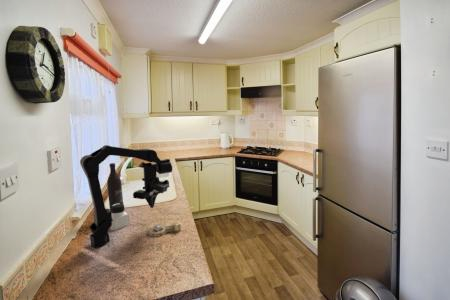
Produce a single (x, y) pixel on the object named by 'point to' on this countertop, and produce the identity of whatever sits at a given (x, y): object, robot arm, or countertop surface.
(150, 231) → the ring with handle
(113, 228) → the printed carton box
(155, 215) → the countertop surface
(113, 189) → the wine bottle
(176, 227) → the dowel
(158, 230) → the grey shiny ball
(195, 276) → the countertop surface
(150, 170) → the robot arm
